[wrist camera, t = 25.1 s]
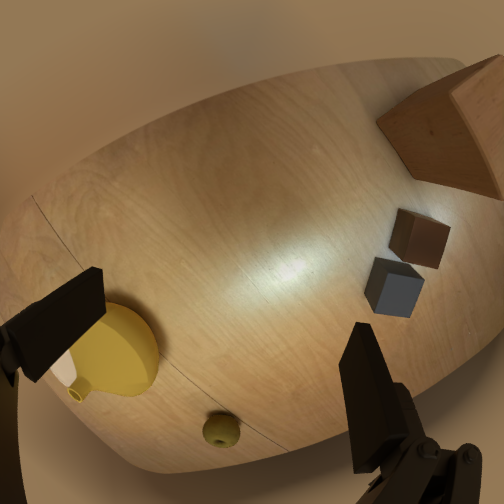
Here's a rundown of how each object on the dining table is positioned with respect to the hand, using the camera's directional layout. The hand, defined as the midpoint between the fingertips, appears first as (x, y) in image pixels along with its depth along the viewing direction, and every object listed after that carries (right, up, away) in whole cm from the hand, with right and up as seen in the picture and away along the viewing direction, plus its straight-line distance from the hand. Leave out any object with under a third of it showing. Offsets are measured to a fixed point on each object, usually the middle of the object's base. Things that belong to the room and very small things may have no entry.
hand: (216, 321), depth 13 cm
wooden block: (+25, +20, +18) cm, 37 cm away
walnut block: (+25, +6, +23) cm, 34 cm away
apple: (-4, -33, +40) cm, 52 cm away
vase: (-22, -12, +35) cm, 43 cm away
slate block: (+22, -1, +26) cm, 34 cm away
